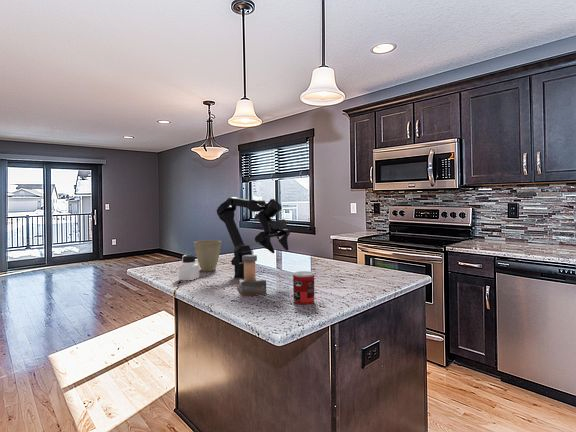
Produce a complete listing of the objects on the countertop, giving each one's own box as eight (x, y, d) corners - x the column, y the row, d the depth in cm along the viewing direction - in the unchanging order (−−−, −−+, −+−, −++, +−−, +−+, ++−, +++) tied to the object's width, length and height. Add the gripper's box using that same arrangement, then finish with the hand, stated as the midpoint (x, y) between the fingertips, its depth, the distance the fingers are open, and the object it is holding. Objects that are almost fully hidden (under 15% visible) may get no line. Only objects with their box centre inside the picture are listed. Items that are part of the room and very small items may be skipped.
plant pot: (227, 268, 203) (226, 240, 202) (211, 273, 189) (210, 243, 189) (205, 266, 209) (204, 239, 208) (188, 271, 196) (187, 242, 195)
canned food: (292, 299, 140) (292, 271, 139) (312, 298, 141) (312, 270, 140) (294, 305, 132) (294, 275, 132) (316, 304, 133) (315, 275, 132)
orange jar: (241, 283, 159) (241, 255, 158) (255, 282, 161) (255, 254, 160) (243, 287, 153) (243, 257, 152) (258, 286, 154) (258, 256, 154)
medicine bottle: (199, 277, 180) (198, 254, 179) (191, 281, 173) (190, 256, 172) (187, 277, 182) (186, 253, 181) (178, 280, 175) (178, 255, 175)
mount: (237, 287, 159) (237, 275, 159) (259, 285, 162) (259, 273, 162) (242, 296, 145) (242, 282, 145) (266, 293, 148) (266, 280, 148)
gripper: (262, 214, 156) (277, 245, 151) (290, 212, 170) (304, 240, 165) (248, 227, 163) (262, 257, 157) (276, 224, 177) (290, 252, 171)
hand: (280, 251), depth 163 cm, fingers open, 9 cm apart
